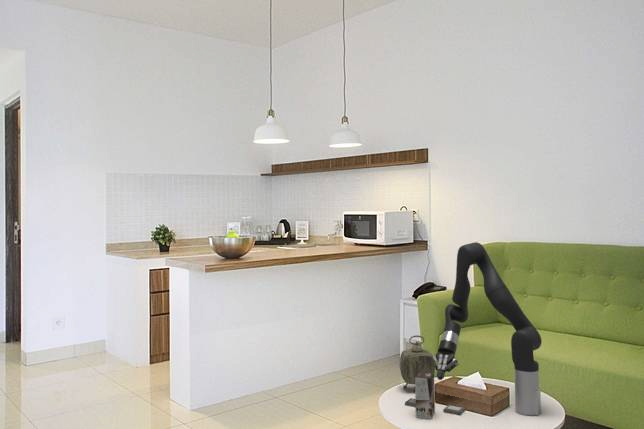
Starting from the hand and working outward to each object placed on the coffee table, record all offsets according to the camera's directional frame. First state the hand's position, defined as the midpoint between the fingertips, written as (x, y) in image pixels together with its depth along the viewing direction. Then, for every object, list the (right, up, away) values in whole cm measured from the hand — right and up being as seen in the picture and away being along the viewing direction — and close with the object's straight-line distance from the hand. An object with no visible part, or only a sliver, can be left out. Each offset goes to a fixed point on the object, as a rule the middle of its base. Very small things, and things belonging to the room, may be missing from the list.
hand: (439, 378), depth 235 cm
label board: (-3, -11, -5) cm, 12 cm away
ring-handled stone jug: (-6, -11, +18) cm, 22 cm away
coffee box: (-8, -11, -13) cm, 19 cm away
